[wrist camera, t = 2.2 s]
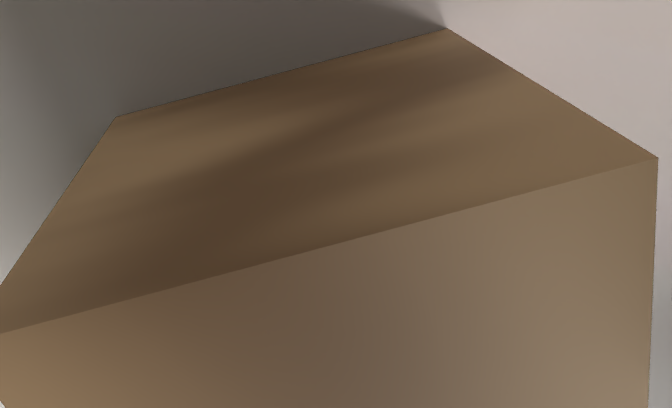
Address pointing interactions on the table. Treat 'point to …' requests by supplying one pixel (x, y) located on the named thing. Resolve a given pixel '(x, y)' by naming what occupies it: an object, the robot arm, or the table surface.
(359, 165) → the walnut block
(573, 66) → the table surface
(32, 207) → the table surface
